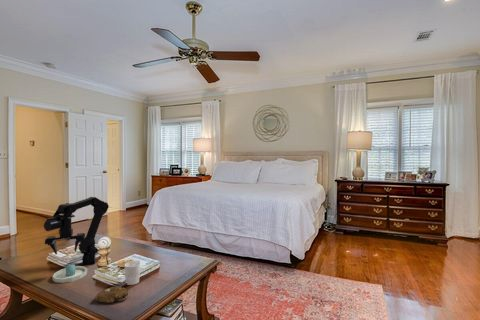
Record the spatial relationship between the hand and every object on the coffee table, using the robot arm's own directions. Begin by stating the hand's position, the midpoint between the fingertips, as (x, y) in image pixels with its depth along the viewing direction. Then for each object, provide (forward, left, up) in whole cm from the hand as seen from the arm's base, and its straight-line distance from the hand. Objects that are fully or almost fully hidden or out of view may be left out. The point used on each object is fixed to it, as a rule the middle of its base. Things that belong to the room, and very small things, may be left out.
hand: (65, 253), depth 150 cm
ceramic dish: (-3, +4, -12) cm, 13 cm away
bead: (-3, +4, -11) cm, 12 cm away
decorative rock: (-28, +37, -12) cm, 48 cm away
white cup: (-36, +24, -12) cm, 45 cm away
